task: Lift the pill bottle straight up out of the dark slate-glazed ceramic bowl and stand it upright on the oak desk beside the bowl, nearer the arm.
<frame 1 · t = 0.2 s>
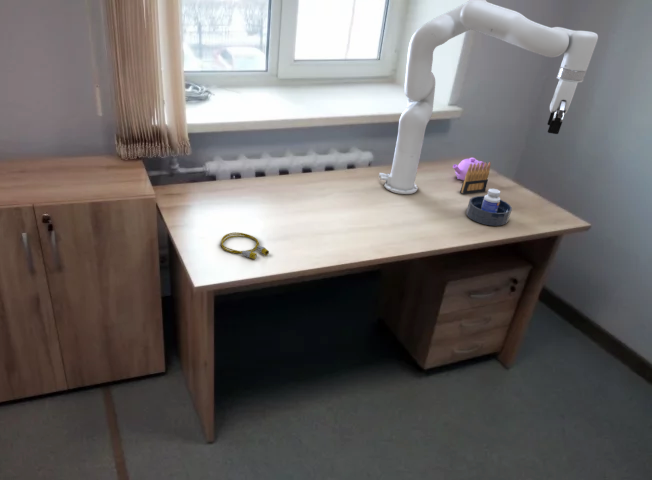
hand: (552, 129, 173), 31 cm above the table, tool pointing down, fingers open, 9 cm apart
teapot: (465, 180, 215), on the table
bowl: (486, 217, 186), on the table
ammunition clip: (472, 192, 205), on the table
extension cord: (242, 248, 159), on the table
pill bottle: (486, 216, 186), resting on bowl
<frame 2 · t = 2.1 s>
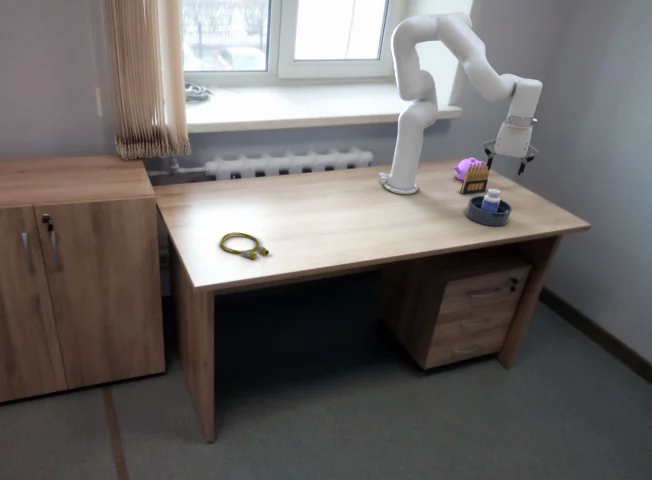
hand: (503, 171, 177), 17 cm above the table, tool pointing down, fingers open, 9 cm apart
nothing on the table moved.
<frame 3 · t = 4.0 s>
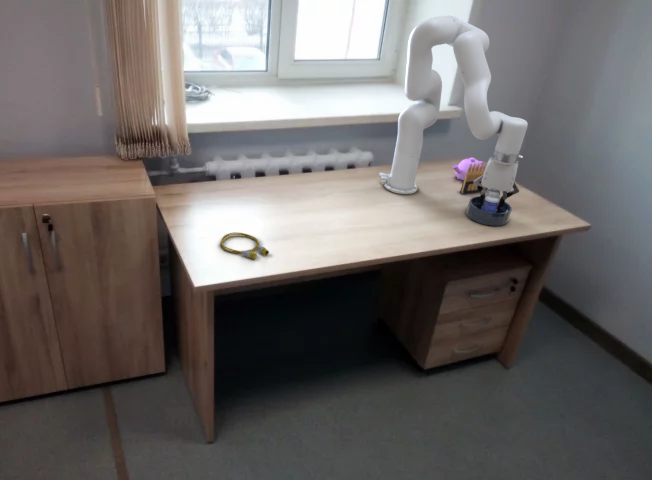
hand: (490, 205, 184), 4 cm above the table, tool pointing down, fingers closed on pill bottle, 5 cm apart
pill bottle: (486, 216, 186), resting on bowl, touching gripper
everything else where it was.
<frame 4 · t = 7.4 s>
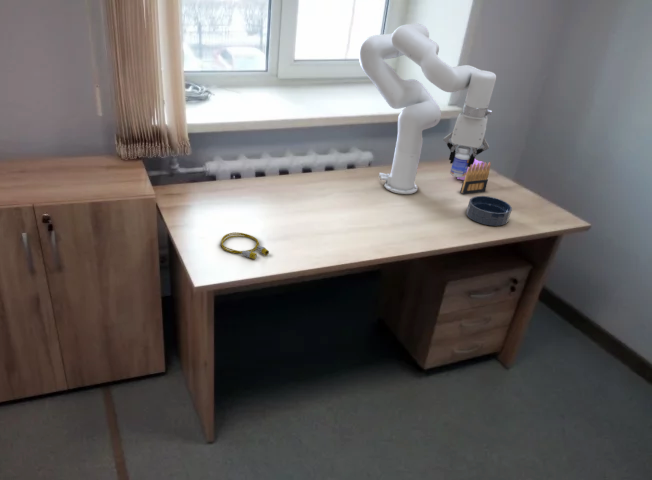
hand: (460, 163, 182), 17 cm above the table, tool pointing down, fingers closed on pill bottle, 5 cm apart
pill bottle: (457, 175, 184), point 13 cm above the table, touching gripper
everything else where it was.
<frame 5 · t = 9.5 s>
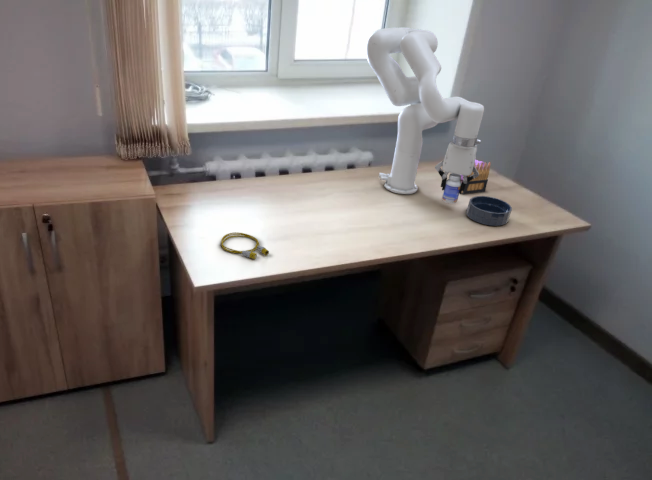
hand: (451, 190, 187), 7 cm above the table, tool pointing down, fingers closed on pill bottle, 5 cm apart
pill bottle: (449, 201, 190), point 3 cm above the table, touching gripper
everything else where it was.
when the fingers open (4 cm above the table, at t = 10.8 s): pill bottle stays where it is, on the table.
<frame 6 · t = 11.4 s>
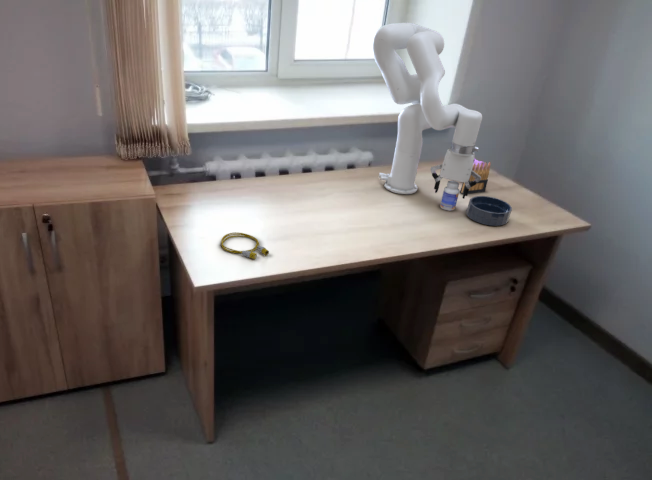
hand: (449, 194, 189), 5 cm above the table, tool pointing down, fingers open, 9 cm apart
pill bottle: (447, 208, 191), on the table
everything else where it was.
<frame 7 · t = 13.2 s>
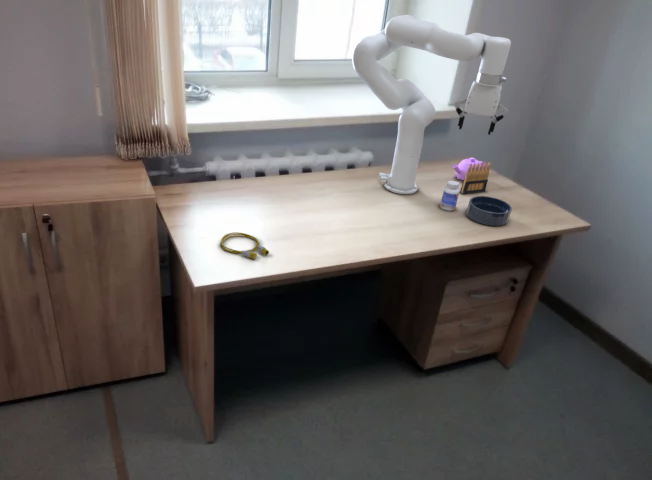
hand: (474, 131, 180), 27 cm above the table, tool pointing down, fingers open, 9 cm apart
nothing on the table moved.
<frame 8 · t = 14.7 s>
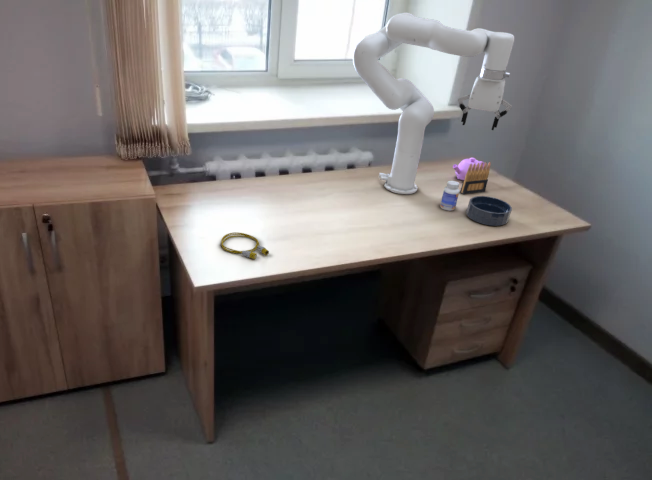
hand: (478, 126, 180), 28 cm above the table, tool pointing down, fingers open, 9 cm apart
nothing on the table moved.
at the end: pill bottle inside the target area (0.1 cm from its centre), on the table; pill bottle tilted 0°; pill bottle touching table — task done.
